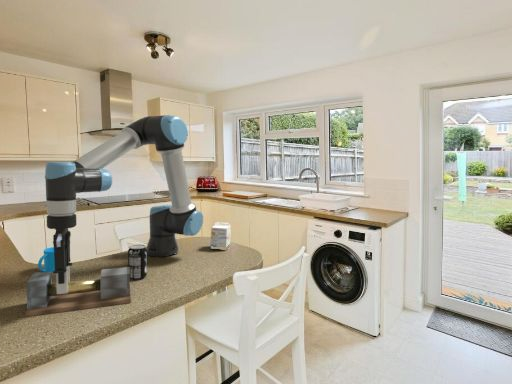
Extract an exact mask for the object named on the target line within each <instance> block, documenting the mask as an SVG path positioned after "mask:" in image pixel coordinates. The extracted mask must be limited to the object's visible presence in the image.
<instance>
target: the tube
mask: <svg viewBox="0 0 512 384" xmlns="http://www.w3.org/2000/svg"><path fill="white" fill-rule="evenodd" d="M93 291H101V281H100V278H97V279H96V278H95V279H84V280H75V281H70V282H68V293H64V294H57V285H56V282H55V283H52V284H47V297H49V296H58V295H67V294H76V293H84V292H93Z"/></svg>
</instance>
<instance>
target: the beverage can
mask: <svg viewBox="0 0 512 384" xmlns="http://www.w3.org/2000/svg"><path fill="white" fill-rule="evenodd" d="M146 247H147V245H145V244H131V245H129V249H128V250H127V267H129V269H130V281H131V280H132V281H140V280H143V279H145V278H146V276H147V275H148V274H147V273H148V271H147V270H148V268H147V267H148V265H147V264H148V263H147V262H148V261H147V259H148V255H147V249H146Z"/></svg>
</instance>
